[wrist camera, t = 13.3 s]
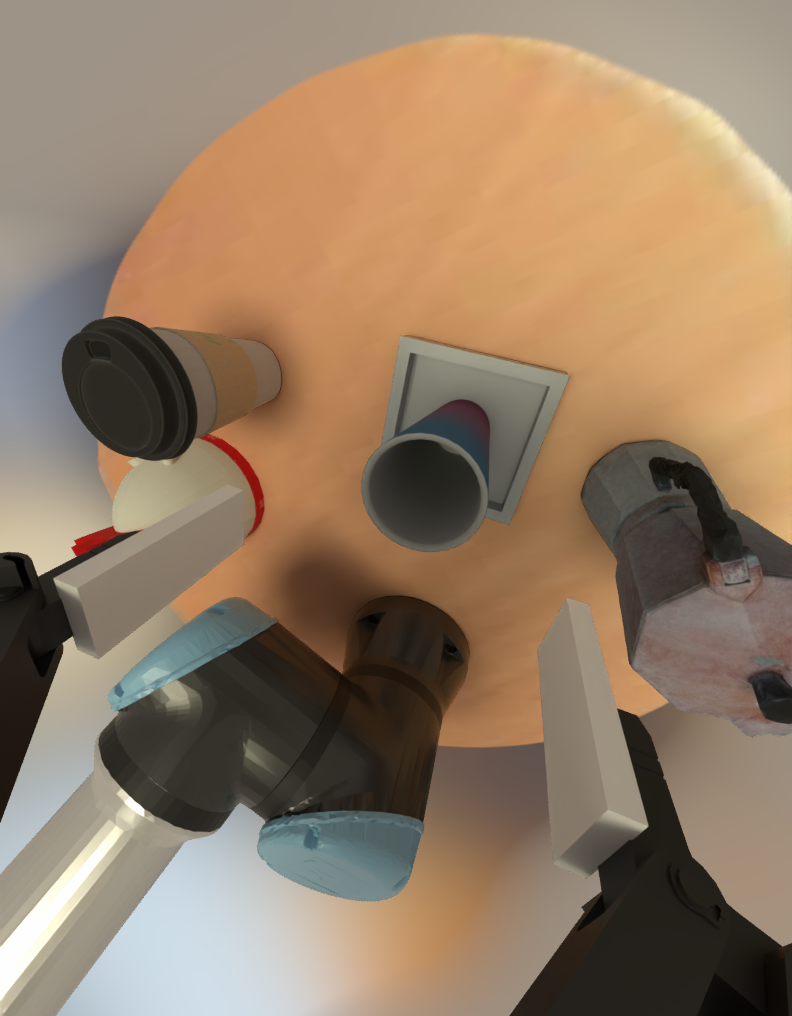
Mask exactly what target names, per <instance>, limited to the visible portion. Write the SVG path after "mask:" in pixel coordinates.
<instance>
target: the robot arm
mask: <svg viewBox="0 0 792 1016" xmlns="http://www.w3.org/2000/svg"><path fill="white" fill-rule="evenodd" d="M242 545H244V499H243V490H242V489H239V488H236V487H233V486H230V485H226V486H224V487H222V488H220V489H218V490H217V491H215V492H213V493H211V494H209V495H207V496H205V497H204V498H202V499H200V500H198V501H196V502H194V503H192V504H191V505H189V506H187V507H185V508H183V509H181V510H179V511H178V512H176V513H174V514H172V515H170V516H168V517H166V518H165V519H163V520H161V521H159V522H157V523H155V524H153V525H152V526H150V527H148V528H146V529H144V530H142V531H140V532H139V531H137V530H136V531H132V532H129V533H125V534H122V535H118V536H116V537H114V538H112V539H110V540H108V541H106V542H104V543H102V545H101V546H97V547H95V548H93V549H91V550H89V552H88V553H87V552H85V553H83V554H81V555H79V556H77V557H75V558H74V559H72V560H70V561H68V562H66V563H64V564H62V565H60V566H58V567H56V568H54V569H52V570H50V571H48V572H46V573H45V574H43V575H41V576H39V577H38V576H37V573H36V570H35V568H34V565H33V562H32V560H31V558H30V557H29V556H28V555H25V554H22V553H15V552H6V553H0V822H1V819H2V817H3V814H4V811H5V809H6V806H7V803H8V801H9V798H10V795H11V792H12V790H13V787H14V784H15V782H16V779H17V776H18V773H19V771H20V768H21V765H22V763H23V760H24V757H25V754H26V752H27V749H28V746H29V744H30V741H31V738H32V735H33V733H34V730H35V727H36V724H37V722H38V719H39V717H40V713H41V711H42V708H43V706H44V703H45V700H46V697H47V695H48V692H49V689H50V687H51V684H52V681H53V679H54V676H55V673H56V670H57V667H58V665H59V662H60V660H61V657H62V654H63V644H62V643H63V642H65V641H66V640H67V639H69V638H70V637H72V636H73V638H74V641H75V644H76V647H77V650H79V651H81V652H84V653H86V654H88V655H90V656H93V657H95V658H97V659H100V658H101V657H102V656H103V655H105V654H106V653H107V652H108V651H110V650H111V649H112V648H113V647H115V646H116V645H117V644H118V643H120V642H121V641H122V640H124V639H125V638H126V637H127V636H129V635H130V634H131V633H132V632H133V631H135V630H136V629H137V628H139V627H140V626H141V625H143V624H144V623H145V622H146V621H148V620H149V619H150V618H151V617H153V616H154V615H155V614H156V613H158V612H159V611H160V610H161V609H163V608H164V607H165V606H167V605H168V604H169V603H170V602H172V601H173V600H174V599H175V598H177V597H178V596H179V595H180V594H182V593H183V592H184V591H186V590H187V589H188V588H189V587H191V586H192V585H193V584H194V583H196V582H197V581H198V580H199V579H201V578H202V577H203V576H204V575H206V574H207V573H208V572H210V571H211V570H212V569H213V568H215V567H216V566H217V565H218V564H220V563H221V562H222V561H223V560H225V559H226V558H227V557H228V556H230V555H231V554H232V553H234V552H235V551H236V550H237V549H239V548H240V547H241V546H242ZM468 662H469V647H468V643H467V641H466V638H465V636H464V634H463V633H462V631H461V629H460V628H459V627H458V626H457V624H456V623H455V622H454V621H453V620H452V619H451V618H450V617H449V616H447V615H446V614H445V613H444V612H442V611H441V610H439V609H437V608H436V607H434V606H432V605H430V604H428V603H426V602H423V601H420V600H417V599H413V598H409V597H401V596H390V597H383V598H379V599H376V600H373V601H371V602H369V603H368V604H366V605H365V606H364V607H362V609H361V610H360V611H359V612H358V614H357V615H356V617H355V619H354V621H353V623H352V624H351V626H350V629H349V632H348V635H347V642H346V650H345V657H344V665H343V673H342V674H341V673H340V672H339V671H338V670H337V669H335V668H334V667H333V666H332V665H330V664H329V663H328V662H327V661H325V660H324V659H323V658H322V657H320V656H319V655H318V654H317V653H315V652H314V651H313V650H312V649H310V648H309V647H308V646H307V645H306V644H304V643H303V642H302V641H301V640H299V639H298V638H297V637H296V636H294V635H293V634H292V633H291V632H289V631H288V630H287V629H286V628H284V627H283V626H282V625H281V624H280V623H278V620H277V619H276V618H271V617H270V616H269V615H267V614H266V613H264V612H263V611H262V610H260V609H259V608H258V607H256V606H255V605H253V604H252V603H251V602H249V601H248V600H246V599H243V598H238V597H234V598H228V599H225V600H222V601H220V602H218V603H216V604H214V605H213V606H211V607H209V608H208V609H206V610H205V611H203V612H202V613H201V614H199V615H198V616H196V617H195V618H194V619H192V620H191V621H189V622H188V623H187V624H185V625H184V626H183V627H181V628H180V629H179V630H178V631H176V632H175V633H174V634H172V635H171V636H170V637H169V638H167V639H166V640H165V641H164V642H162V643H161V644H160V645H159V646H157V647H156V648H155V649H154V650H153V651H152V652H150V653H149V654H148V655H147V656H146V657H144V658H143V659H142V660H141V661H140V662H139V663H138V664H136V665H135V666H134V667H133V668H132V669H131V670H130V671H129V672H128V673H127V674H126V675H125V676H124V677H123V678H122V680H121V681H120V682H119V683H118V684H117V685H116V686H114V687H113V688H112V689H111V691H110V692H109V694H108V701H109V703H110V704H111V709H112V710H114V711H119V713H118V715H117V716H116V717H115V718H114V719H113V720H112V721H111V722H110V724H109V725H108V726H107V727H106V728H105V729H104V730H103V731H102V732H101V733H100V734H99V735H98V737H97V739H96V742H95V750H94V754H95V755H94V771H93V772H92V773H91V775H90V776H89V777H88V778H87V779H86V780H85V781H84V782H83V783H82V784H81V785H80V787H79V788H78V789H77V790H76V791H75V792H74V793H73V794H72V796H71V797H70V798H69V799H68V800H67V801H66V802H65V803H64V804H63V805H62V807H61V808H60V809H59V810H58V811H57V812H56V813H55V814H54V815H53V817H52V818H51V819H50V820H49V821H48V822H47V823H46V824H45V825H44V826H43V828H42V829H41V830H40V831H39V832H38V833H37V834H36V835H35V836H34V838H33V839H32V840H31V841H30V842H29V843H28V844H27V845H26V846H25V848H24V849H23V850H22V851H21V852H20V853H19V854H18V855H17V856H16V857H15V859H14V860H13V861H12V862H11V863H10V864H9V865H8V866H7V867H6V868H5V870H4V871H3V872H2V873H1V874H0V1016H56V1015H57V1013H58V1012H59V1011H60V1009H61V1008H62V1007H63V1005H64V1004H65V1002H66V1001H67V1000H68V998H69V997H70V995H71V994H72V993H73V992H74V990H75V989H76V988H77V986H78V985H79V984H80V982H81V981H82V979H83V978H84V977H85V976H86V974H87V973H88V971H89V970H90V969H91V968H92V966H93V965H94V963H95V962H96V961H97V959H98V958H99V957H100V955H101V954H102V953H103V951H104V950H105V949H106V947H107V946H108V944H109V943H110V942H111V940H112V939H113V938H114V936H115V935H116V934H117V933H118V931H119V930H120V928H121V927H122V926H123V924H124V923H125V922H126V920H127V919H128V918H129V916H130V915H131V913H132V912H133V911H134V910H135V908H136V907H137V906H138V904H139V903H140V902H141V900H142V899H143V898H144V896H145V895H146V894H147V892H148V891H149V889H150V888H151V887H152V885H153V884H154V883H155V881H156V880H157V879H158V877H159V876H160V875H161V873H162V872H163V871H164V869H165V868H166V867H167V865H168V864H169V862H170V861H171V860H172V858H173V857H174V856H175V854H176V853H177V852H178V850H179V849H180V848H181V846H182V845H183V843H184V842H186V841H188V840H191V839H196V838H201V837H206V836H209V835H212V834H214V833H215V832H217V831H218V829H220V828H221V826H222V825H223V824H224V822H225V821H226V819H227V818H228V817H229V815H230V814H231V812H232V811H233V810H234V808H235V807H236V806H237V805H238V804H239V803H242V804H244V805H245V806H247V807H248V808H250V809H251V810H253V811H254V812H255V813H257V814H258V815H259V816H260V817H262V818H263V819H264V820H265V823H266V824H264V825H263V827H262V828H261V830H260V833H259V836H260V838H259V841H258V845H257V848H258V853H259V855H260V857H261V858H262V860H265V861H266V862H267V865H268V866H269V867H270V868H272V869H273V870H274V871H276V872H277V873H279V874H280V875H282V876H284V877H286V878H288V879H290V880H292V881H293V882H296V883H298V884H300V885H302V886H305V887H308V888H310V889H313V890H315V891H318V892H321V893H324V894H328V895H331V896H335V897H340V898H344V899H349V900H357V901H380V900H385V899H389V898H391V897H393V896H395V895H397V894H398V893H399V892H400V891H401V890H402V889H403V888H404V887H405V885H406V884H407V882H408V880H409V878H410V875H411V872H412V868H413V864H414V861H415V857H416V853H417V849H418V845H419V842H420V838H421V835H422V834H423V831H424V823H423V821H424V815H425V810H426V805H427V799H428V794H429V789H430V783H431V778H432V772H433V767H434V762H435V756H436V751H437V746H438V740H439V735H440V729H441V724H442V719H443V716H444V714H445V713H446V711H447V709H448V708H449V706H450V704H451V703H452V701H453V699H454V698H455V696H456V695H457V693H458V691H459V690H460V688H461V686H462V685H463V683H464V680H465V678H466V674H467V669H468ZM538 662H539V676H540V690H541V704H542V718H543V732H544V747H545V761H546V775H547V789H548V803H549V817H550V831H551V844H552V859H553V864H555V865H557V866H559V867H561V868H563V869H565V870H568V871H570V872H572V873H574V874H577V875H579V876H581V877H584V878H586V879H587V878H588V877H589V876H590V875H592V874H593V873H594V872H595V871H596V870H598V871H599V877H600V883H601V890H602V892H600V893H599V894H598V895H596V896H595V897H594V898H593V899H591V900H590V901H589V902H587V903H586V904H585V905H584V906H582V908H583V910H584V911H585V912H584V913H583V915H582V916H581V918H580V919H579V920H578V922H577V923H576V924H575V926H574V927H573V929H572V930H571V931H570V933H569V934H568V936H567V937H566V938H565V940H564V941H563V943H562V944H561V945H560V947H559V948H558V949H557V951H556V952H555V953H554V955H553V956H552V958H551V959H550V960H549V962H548V963H547V965H546V966H545V967H544V969H543V970H542V971H541V973H540V974H539V976H538V977H537V979H536V980H535V981H534V983H533V984H532V985H531V987H530V988H529V989H528V991H527V992H526V994H525V995H524V996H523V998H522V999H521V1001H520V1002H519V1003H518V1005H517V1006H516V1007H515V1009H514V1010H513V1012H512V1013H511V1014H510V1016H792V943H791V944H788V945H786V946H783V947H782V946H781V945H779V944H778V943H777V942H776V941H774V940H773V939H772V938H770V937H769V936H768V935H766V934H765V933H764V932H762V931H761V930H760V929H758V928H757V927H756V926H755V925H753V924H752V923H751V922H749V921H748V920H747V919H746V918H744V917H743V916H741V915H740V914H739V913H738V912H736V911H735V910H734V909H733V908H732V907H731V906H729V905H728V904H727V903H726V901H725V899H724V897H723V895H722V894H721V892H720V890H719V888H718V886H717V884H716V883H715V881H714V880H713V879H712V878H711V877H710V875H709V874H708V873H707V871H706V870H705V869H704V868H703V866H701V865H700V864H699V863H698V862H697V861H696V860H695V859H694V858H692V856H691V853H690V851H689V849H688V846H687V843H686V840H685V837H684V834H683V831H682V828H681V825H680V822H679V819H678V816H677V813H676V810H675V807H674V804H673V801H672V798H671V795H670V792H669V789H668V786H667V783H666V780H665V779H663V776H664V774H663V771H662V768H661V765H660V762H658V760H657V759H658V756H657V753H656V750H655V747H654V744H653V741H652V738H651V736H650V734H649V733H648V732H647V730H646V728H645V727H644V725H643V724H642V722H641V721H640V720H639V718H638V716H636V715H634V714H631V713H628V712H626V711H623V710H620V709H618V708H617V707H616V703H615V700H614V696H613V692H612V689H611V685H610V681H609V677H608V674H607V670H606V666H605V663H604V659H603V655H602V651H601V648H600V644H599V640H598V637H597V633H596V629H595V625H594V622H593V618H592V614H591V611H590V607H589V605H588V604H585V603H582V602H579V601H576V600H573V599H570V598H566V600H565V602H564V603H563V605H562V607H561V609H560V611H559V612H558V614H557V616H556V618H555V620H554V621H553V623H552V625H551V627H550V628H549V630H548V632H547V634H546V636H545V637H544V639H543V641H542V643H541V645H540V646H539V648H538Z"/></svg>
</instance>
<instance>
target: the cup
mask: <svg viewBox="0 0 792 1016" xmlns="http://www.w3.org/2000/svg"><path fill="white" fill-rule="evenodd" d="M489 446H490V423H489V419H488V417H487V415H486V413H485V411H484V410H483V409H482V408H481V407H480V406H479V405H478V404H476V403H474V402H472V401H469V400H463V399H459V400H453V401H450V402H448V403H446V404H445V405H443V406H441V407H440V408H438V409H437V410H435V411H434V412H432V413H430V414H429V415H427V416H426V417H424V418H423V419H421V420H419V421H418V422H416V423H415V424H413V425H412V426H410V427H408V428H407V429H405V430H404V431H402V432H401V433H399V434H397V435H396V436H394V437H393V438H391V439H390V440H388V441H387V442H385V443H384V444H382V445H381V446H380V447H379V448H378V449H377V450H376V451H375V452H374V453H373V454H372V456H371V457H370V459H369V460H368V462H367V464H366V467H365V469H364V472H363V477H362V497H363V502H364V505H365V508H366V510H367V513H368V515H369V516H370V518H371V520H372V521H373V523H374V524H375V525H376V526H377V528H378V529H379V530H380V531H381V532H382V533H383V534H384V535H386V536H387V537H388V538H389V539H391V540H392V541H394V542H396V543H398V544H399V545H401V546H404V547H406V548H409V549H412V550H417V551H422V552H439V551H445V550H449V549H452V548H454V547H457V546H459V545H461V544H462V543H464V542H466V541H467V540H468V539H469V538H470V537H472V536H473V535H474V534H475V533H476V531H477V530H478V529H479V527H480V526H481V524H482V522H483V520H484V518H485V515H486V513H487V507H488V498H489Z"/></svg>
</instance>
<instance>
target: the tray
mask: <svg viewBox="0 0 792 1016" xmlns="http://www.w3.org/2000/svg"><path fill="white" fill-rule="evenodd" d="M568 379H569V375H568V374H567V373H566V372H563V371H559V370H554V369H550V368H546V367H542V366H537V365H533V364H529V363H525V362H520V361H516V360H512V359H507V358H503V357H499V356H495V355H490V354H486V353H482V352H478V351H473V350H469V349H465V348H461V347H456V346H452V345H448V344H444V343H439V342H435V341H431V340H427V339H422V338H418V337H414V336H410V335H406V336H400V342H399V348H398V353H397V359H396V364H395V370H394V376H393V381H392V387H391V392H390V398H389V404H388V409H387V415H386V420H385V426H384V432H383V437H382V443H381V445H382V444H384V443H385V442H387V441H388V440H390V439H391V438H393V437H394V436H396V435H397V434H399V433H401V432H402V431H404V430H405V429H407V428H408V427H410V426H412V425H413V424H415V423H416V422H418V421H419V420H421V419H423V418H424V417H426V416H427V415H429V414H430V413H432V412H434V411H435V410H437V409H438V408H440V407H441V406H443V405H445V404H446V403H448V402H450V401H453V400H459V399H463V400H469V401H472V402H474V403H476V404H478V405H479V406H480V407H481V408H482V409H483V410H484V411H485V413H486V415H487V417H488V419H489V423H490V446H489V498H488V507H487V513H486V515H485V518H488V519H491V520H494V521H498V522H501V523H504V524H507V525H509V524H510V521H511V519H512V517H513V514H514V512H515V509H516V507H517V504H518V502H519V499H520V497H521V494H522V492H523V489H524V487H525V485H526V482H527V480H528V477H529V475H530V472H531V470H532V467H533V465H534V462H535V460H536V457H537V455H538V453H539V450H540V448H541V445H542V443H543V440H544V438H545V435H546V433H547V430H548V428H549V426H550V423H551V421H552V418H553V416H554V413H555V411H556V408H557V406H558V403H559V401H560V398H561V396H562V394H563V391H564V389H565V386H566V384H567V381H568Z"/></svg>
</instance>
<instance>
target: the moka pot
mask: <svg viewBox="0 0 792 1016" xmlns="http://www.w3.org/2000/svg"><path fill="white" fill-rule="evenodd" d="M581 499H582V502H583V505H584V507H585V508H586V511H587V513H588V515H589V517H590V519H591V521H592V523H593V525H594V526H595V528H596V529H597V531H598V532H599V533H600V535H601V537H602V538H603V540H604V541H605V542H606V544H607V545H608V547H609V549H610V550H611V551H612V553H613V554H614V556H615V557H616V559H617V562H618V563H617V568H616V575H615V576H616V583H617V589H618V594H619V602H620V608H621V613H622V620H623V626H624V633H625V641H626V645H627V652H628V659H629V664H630V665H631V667H632V668H633V669H634V670H635V671H636V672H637V673H638V674H639V675H640V676H642V677H643V678H644V679H645V680H646V681H647V682H648V683H649V684H650V685H652V686H653V687H654V688H655V689H656V690H657V691H658V692H659V693H660V694H661V695H662V696H663V697H665V698H666V699H667V700H668V701H669V702H670V703H671V704H672V705H673V706H674V707H675V708H677V709H679V710H680V711H683V712H690V713H695V714H700V715H705V716H711V717H718V718H722V719H727V720H730V721H731V722H732V723H734V725H736V726H737V727H738V728H739V729H740V730H741V731H742V732H743V733H744V734H745V735H747V736H751V737H758V736H761V735H775V736H787V735H790V734H792V545H791V544H789V543H787V542H786V541H784V540H783V539H781V538H779V537H778V536H776V535H775V534H773V533H772V532H770V531H768V530H767V529H765V528H764V527H762V526H761V525H759V524H758V523H756V522H755V521H753V520H752V519H750V518H749V517H747V516H745V515H744V514H742V513H741V512H739V511H738V510H732V509H731V508H730V506H729V504H728V502H727V501H726V500H725V498H724V496H723V494H722V493H721V491H720V490H719V488H718V487H717V485H716V483H715V482H714V480H713V479H712V477H711V475H710V474H709V472H708V470H707V469H706V467H705V466H704V464H703V462H702V461H701V459H700V458H699V457H698V456H696V455H695V454H693V453H691V452H690V451H688V450H686V449H684V448H682V447H680V446H677V445H675V444H672V443H670V442H668V441H648V442H637V443H631V444H624V445H622V446H620V447H619V448H617V449H615V450H613V451H612V452H611V453H609V454H607V455H606V456H605V457H604V458H602V459H601V460H600V461H599V462H598V463H597V464H596V465H595V466H594V467H593V468H592V469H591V471H590V472H589V474H588V477H587V479H586V482H585V485H584V488H583V491H582V494H581Z"/></svg>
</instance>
